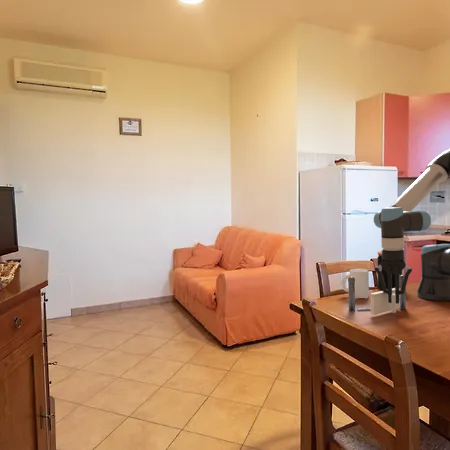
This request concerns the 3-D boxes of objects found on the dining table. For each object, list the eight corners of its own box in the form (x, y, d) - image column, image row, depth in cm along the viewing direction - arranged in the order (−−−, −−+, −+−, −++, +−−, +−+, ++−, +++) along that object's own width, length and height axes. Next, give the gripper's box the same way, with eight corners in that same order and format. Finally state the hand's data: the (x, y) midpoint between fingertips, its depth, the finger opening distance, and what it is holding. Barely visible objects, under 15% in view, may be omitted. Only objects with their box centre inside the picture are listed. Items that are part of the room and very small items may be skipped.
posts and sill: (404, 307, 149) (404, 274, 148) (407, 309, 146) (407, 275, 145) (347, 309, 149) (346, 276, 148) (349, 311, 147) (348, 277, 146)
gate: (396, 307, 147) (396, 287, 146) (400, 308, 145) (400, 288, 145) (370, 313, 140) (370, 293, 139) (374, 315, 138) (374, 294, 138)
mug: (340, 293, 174) (339, 268, 173) (367, 294, 171) (366, 268, 171) (342, 298, 166) (341, 272, 165) (370, 298, 163) (369, 272, 163)
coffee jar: (404, 292, 172) (404, 253, 171) (380, 292, 174) (379, 254, 173) (398, 287, 182) (398, 250, 181) (375, 286, 184) (375, 250, 183)
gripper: (412, 248, 137) (413, 310, 139) (375, 247, 144) (377, 307, 145) (411, 250, 131) (412, 316, 132) (372, 250, 137) (374, 312, 139)
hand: (394, 311), depth 139 cm, fingers closed
